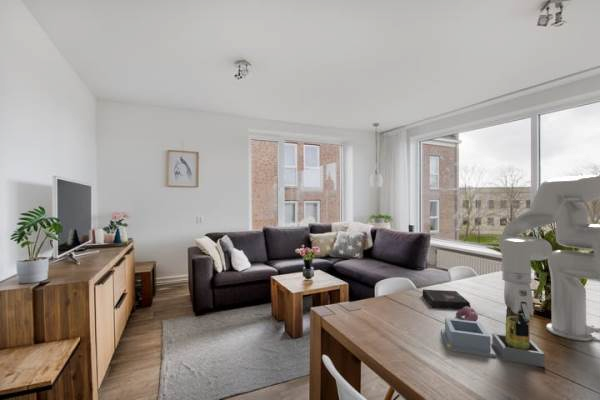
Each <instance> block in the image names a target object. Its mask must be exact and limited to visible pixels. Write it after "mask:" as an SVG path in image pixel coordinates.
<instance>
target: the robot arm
mask: <svg viewBox="0 0 600 400" xmlns="http://www.w3.org/2000/svg"><path fill="white" fill-rule="evenodd" d="M597 200H600V175H599V174H595V175H577V176H563V177H555V178H551V179H548V180H545V181H543V182H542V183H541V184H540V185H539V187H538V189H537V191H536V193H535V195H534V197H533V199H532V202H531V204H530V206H529V209H528V210H527V211H525V212H523V213H521V214H519V215H518V216H517V217H515V218H514V219H512V220H511V221H509V222H508V223H507V224H506V226H505V227H504V229H503V231H502V233H501V236H500V237H499V241H498V249H499V250H500V252H501V271H502V273H501V277H502V278H501V279H502V280H503V281H504V285H503V286H504V287H503V288H504V289H503V290H504V291H503V295H504V296H503V299H504V304H505V306H506V308H507V307H508V306H509V307H510V308H511V310H512V311H513V312H514V313H515V314H516V319H517V322H516V335H517V336H525V337H528V336H529V332H528V325H529V319H530V320H531V317H532V316H534V303H533V294H532V293H533V292H532V287H531V284H532V262H531V261H537V262H538V261H540V262H541V261H545V260H547V265H548V270H549V274H550V275H549V276H550V282H551V283H550V285H551V286H550V287H551V288H550V292H551V296H550V298H551V309H550V310H551V322H549V323H547V324H546V330H548V331H549V332H550V333H551V334H554V335H557V336H559V337H562V338H565V339H569V340H572V341H573V340H574V341H580V342H589V341H592V340H593V335H592V334H593V333H596V334H600V327H598V326H597V327H595V326H594V325H593V324H587V291H586V287H585V286H584V284H583V283H582V281H581V280H580V279H583V280H584V279H585V280H587V281H588V280H589V281H596V282H600V224H598V223H589V210H588V208H587V207H586V206H585V204H583V203H590V202H594V201H597ZM554 223H556V225H555V227H556V228H555V240H556V243H557V244H558V245H559V246H562V247H566V248H567V247H568V248H571V249H573V248H575V249H581V250H591V251H593V252H594V253H589V252H582V251H573V250H567V249H557V250H553V245H552V244H551V243H550V242H549V241H548V240H546V239H544V238H541V237H531V236H527V235H524V236H523V235H522V234H523V233H524V232H526V231H529V230H532V229H536V228H540V227H544V226H547V225H551V224H554ZM518 311H520V312H522V313H518ZM519 315H521V316H523V317H521V318H519Z"/></svg>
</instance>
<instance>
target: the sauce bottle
mask: <svg viewBox="0 0 600 400" xmlns="http://www.w3.org/2000/svg"><path fill="white" fill-rule="evenodd" d="M505 312H506V313H505V335H506V347H509V348H516V349H523V350H529V339H531V338H530V335H531V334H530V331H531V330H530V328H531V327H530V326H531V324H530V323H531V322H530V321H531V318H530V319H529V325H528V332H529V336H528V337H525V336H517V335H516V322H517V319H516V314H515V313H514V312H513V311H512V310H511V308H510V307H509V306H508V307H507V306H506V311H505ZM518 313H522V312H520V311H518ZM521 317H523V316H521V315H519V318H521Z"/></svg>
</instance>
